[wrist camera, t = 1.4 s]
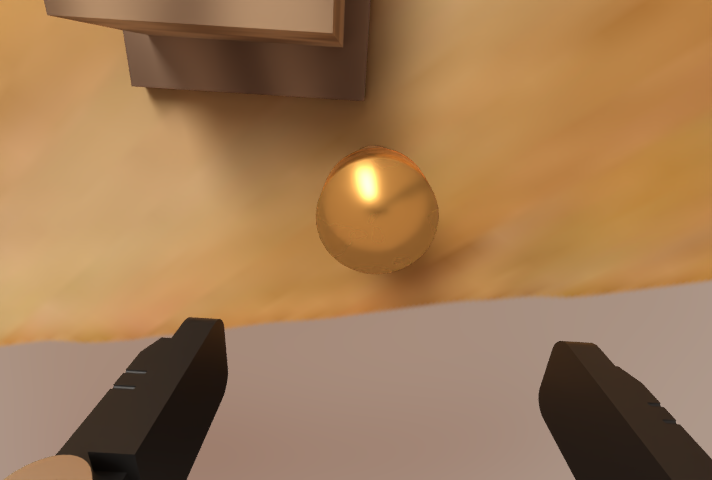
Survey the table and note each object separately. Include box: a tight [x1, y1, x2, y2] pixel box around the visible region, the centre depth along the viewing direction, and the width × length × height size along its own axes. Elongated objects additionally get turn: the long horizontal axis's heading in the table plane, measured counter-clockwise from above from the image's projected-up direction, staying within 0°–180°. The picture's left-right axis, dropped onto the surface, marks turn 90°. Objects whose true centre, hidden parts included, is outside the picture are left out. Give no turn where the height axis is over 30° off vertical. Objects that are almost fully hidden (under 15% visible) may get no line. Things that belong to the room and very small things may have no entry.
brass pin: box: [316, 146, 439, 274], centre depth 23 cm, size 6×6×10 cm
